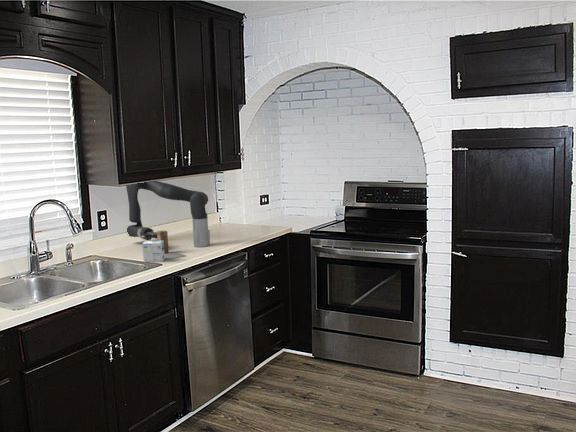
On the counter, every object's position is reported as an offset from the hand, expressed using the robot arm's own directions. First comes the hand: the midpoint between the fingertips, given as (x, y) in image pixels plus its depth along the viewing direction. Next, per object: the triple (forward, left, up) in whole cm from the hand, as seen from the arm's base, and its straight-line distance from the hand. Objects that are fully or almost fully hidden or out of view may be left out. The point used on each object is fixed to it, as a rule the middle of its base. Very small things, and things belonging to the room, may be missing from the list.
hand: (157, 236), depth 335 cm
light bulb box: (+12, +21, -9) cm, 26 cm away
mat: (0, +17, -9) cm, 19 cm away
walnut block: (0, +7, -9) cm, 11 cm away
